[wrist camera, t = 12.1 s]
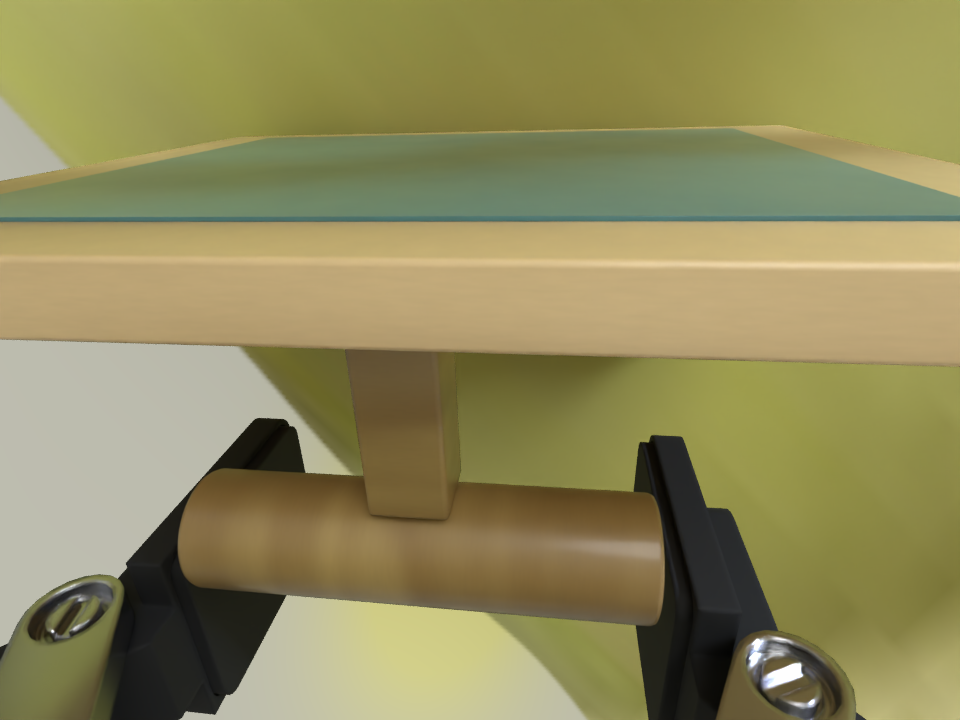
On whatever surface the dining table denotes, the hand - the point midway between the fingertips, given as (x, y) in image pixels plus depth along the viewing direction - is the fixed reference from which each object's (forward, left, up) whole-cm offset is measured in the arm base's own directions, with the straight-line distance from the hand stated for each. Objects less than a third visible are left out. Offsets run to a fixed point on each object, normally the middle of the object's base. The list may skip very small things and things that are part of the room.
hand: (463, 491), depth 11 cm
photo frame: (-6, 0, -1) cm, 6 cm away
